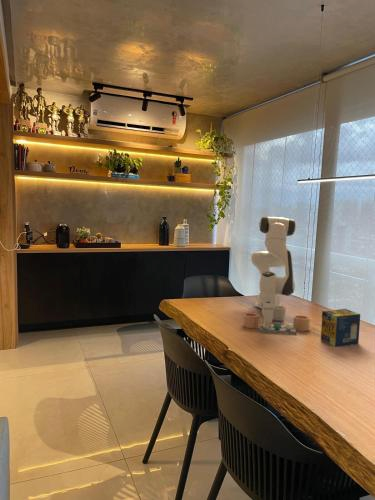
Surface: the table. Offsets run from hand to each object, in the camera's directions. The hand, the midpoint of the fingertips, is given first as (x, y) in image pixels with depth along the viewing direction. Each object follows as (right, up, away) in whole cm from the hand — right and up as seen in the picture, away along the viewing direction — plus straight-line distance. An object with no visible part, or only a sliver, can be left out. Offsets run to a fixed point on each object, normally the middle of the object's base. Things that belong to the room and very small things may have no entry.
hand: (266, 326), depth 205 cm
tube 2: (+21, -2, +5) cm, 21 cm away
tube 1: (-7, -1, +8) cm, 11 cm away
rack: (+6, -3, 0) cm, 6 cm away
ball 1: (0, +1, 0) cm, 1 cm away
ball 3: (+12, 0, -1) cm, 12 cm away
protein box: (+34, -5, -16) cm, 38 cm away
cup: (+11, -1, +22) cm, 24 cm away
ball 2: (+6, 0, -1) cm, 6 cm away
